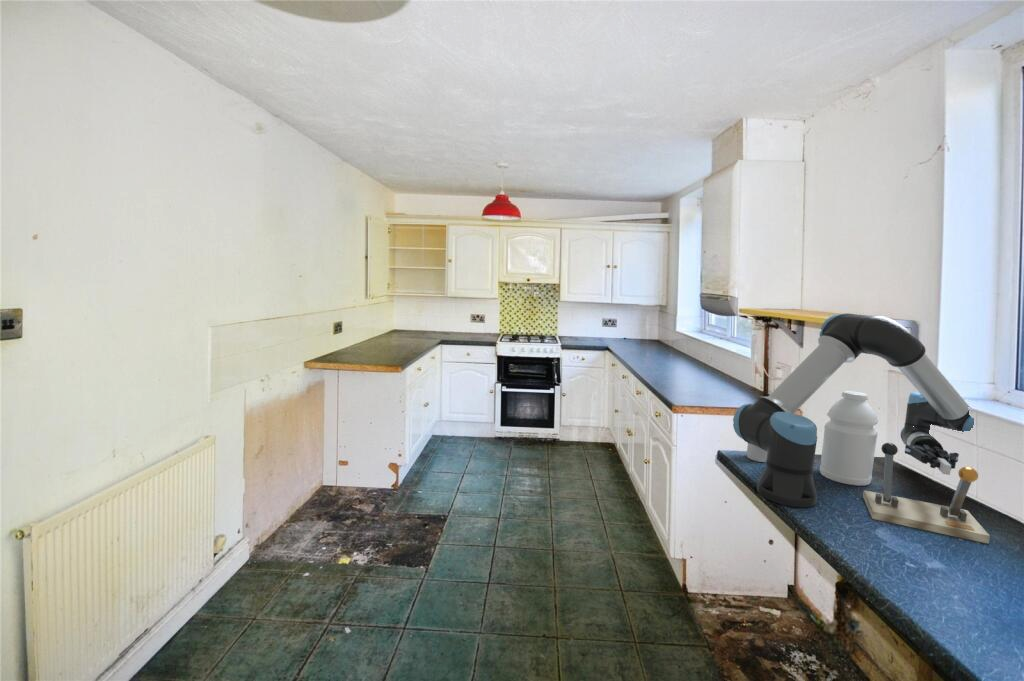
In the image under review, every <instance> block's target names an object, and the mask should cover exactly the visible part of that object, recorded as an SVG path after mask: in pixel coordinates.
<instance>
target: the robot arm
mask: <svg viewBox="0 0 1024 681" xmlns="http://www.w3.org/2000/svg"><path fill="white" fill-rule="evenodd" d="M820 330H821V331H819V337H818V339H817V341H818V346H817V347H815V349H813V351H812V352H810V353H809V355H808V356H807V357H805V358H804V359H803V361H802V362H801V363H799V365H798V366H796V367H795V369H793V371H792V372H791V373H790V374H789V375H788V376H787V377H786V378H785V379H784V380H783V381H782V382H781V383H779V385H778V386H777V387H776V388H775V389H774V390H773V391H771V393H770V394H769V395H768V396H760V397H759V398H758V399H757V400H756V401H755V402H754V403H746V404H742V405H740V406H739V407H738V408H737V409H736V411H735V413H734V414H733V418H732V422H733V423H732V427H733V430H734V432H735V434H736V436H738V438H741V439H742V440H743V441H744V442H746V444H748V443H750V444H753V445H755V446H757V447H759V448H761V449H763V450H765V451H767V461H766V462H765V463H766V464H765V467H764V469H763V471H762V473H761V475H760V477H759V479H758V481H757V484H756V492H757V494H759V496H761V497H763V498H764V499H766V500H768V501H771V502H773V503H776V504H778V505H779V504H780V505H783V506H787V507H793V508H801V509H803V508H804V509H806V508H811V507H815V505H817V500H818V495H817V494H818V493H817V490H816V485H815V483H814V482H815V481H814V477H813V473H814V472H813V471H814V463H815V456H816V448H817V443H818V442H817V441H818V427H817V425H816V423H815V422H814V421H813V420H812V419H810V418H808V417H805V416H803V415H801V414H795V413H796V412H797V411H798V410H799V409H800V408H801V407H802V406H803V405H804V404H805V403H807V401H808V400H809V399H810V398H811V397H812V395H814V394H815V393H816V392H817V391H818V390H819V389H820V388H821V387H822V385H824V383H826V382H827V381H828V380H829V379H830V377H831V376H832V375H833V374H835V373H836V371H837V370H838V369H839V368H840V367H841V366H843V364H845V363H846V364H847V363H853V362H854V361H855V360H856V359H857V358H858V357H859V356H860V355H861V354H868V355H874V356H876V357H879V358H882V359H884V360H885V361H887V363H888V364H889V365H890V366H892V367H894V368H898V370H899V371H900V372H901V373H902V374H903V376H904V377H906V379H907V380H908V381H909V382H910V383H911V384H912V386H913V387H914V388H915V389H916V390H917V391H912V392H910V393H909V397H908V399H907V400H908V401H907V403H906V405H907V406H906V414H905V420H904V426H903V427H902V429H901V430H900V439H901V441H902V443H903V445H904V448H905V449H904V454H905V455H909V456H911V458H914V459H916V460H917V461H918V462H921V463H922V464H925V465H927V464H929V466H930V468H931V469H936V468H937V469H938V470H939V471H940V472H941V474H943V475H949V476H950V474H951V471H952V469H956V464H957V463H958V462H959V456H960V454H959V453H957V452H948V451H947V450H945V449H944V448H943V445H942V444H941V442H939V441H938V440H937V439H936V438H935V437H934V436H931V435H930V434H929V430H930V425H931V424H932V425H934V427H940V428H942V427H943V429H946V428H947V429H946V430H949V429H952V430H951V431H953V430H957V431H962V432H964V431H970V430H971V428H973V425H974V418H972V417H971V416H970V415H969V410H968V407H970V405H969V404H968V403H967V402H966V401H965V399H964V398H963V397H962V396H961V395H960V393H959V392H958V391H957V390H956V389H955V387H954V386H953V385H952V383H950V382H949V380H948V379H947V378H946V377H945V375H944V374H943V373H942V372H941V370H939V368H938V367H937V366H936V365H935V363H934V362H933V361H932V360H931V359H930V357H929V356H928V355H927V354H926V352H927V348H926V346H925V345H924V344H923V342H921V341H920V339H918V337H917V336H916V335H914V334H913V332H911V330H909V329H908V328H906V327H905V326H903V324H901V323H899V322H898V321H896V320H894V319H891V318H889V317H886V316H881V315H867V314H857V313H856V314H855V313H850V312H848V313H846V312H845V313H838V314H834V315H832V316H829V317H828V318H826V319H825V320H824V322H822V324H821V326H820ZM913 426H914V427H913Z"/></svg>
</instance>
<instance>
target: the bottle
mask: <svg viewBox="0 0 1024 681" xmlns="http://www.w3.org/2000/svg"><path fill="white" fill-rule="evenodd" d="M841 397H842V398H840V399H839V400H838V401H836V402H835V403H834V404H832V406H831V407H830V409H829V410H828V412H827V413H826V415H827V416H828V417H829V419H830V420H829V421H828V422H826V423H825V425H824V429H823V430H824V431H823V439H822V440H823V442H822V447H821V448H822V449H821V457H820V466H819V473H820V475H822V476H823V477H824V478H826V479H828V480H830V481H831V480H832V481H834V482H837V483H840V484H845V485H850V486H868V485H870V484H871V482H872V480H873V475H872V474H873V468H874V460H875V453H876V446H877V439H878V434H879V433H878V431H877V430H876V429H875V427H874V426H875V425H877V424H878V422H879V420H878V416H877V413H876V412H875V410H874V408H873V407H872V406H871V405H870V404H869V403H868V402H867V401H868V399H869V395H868V394H867V393H865V392H861V391H854V390H843V391H842V394H841Z"/></svg>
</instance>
